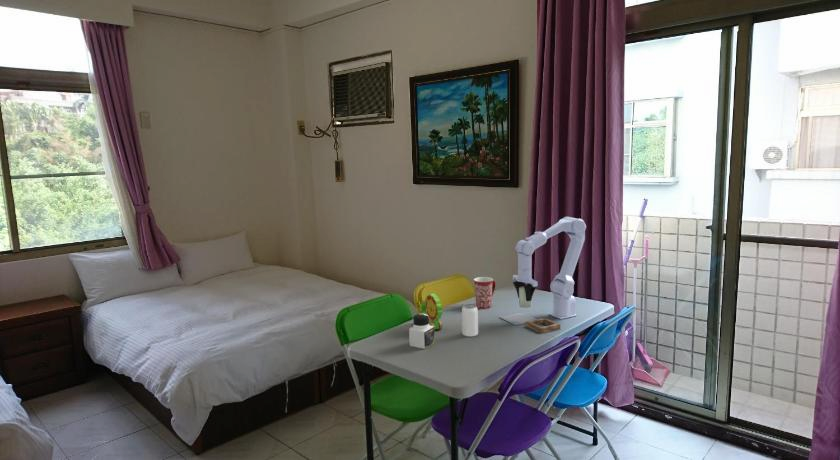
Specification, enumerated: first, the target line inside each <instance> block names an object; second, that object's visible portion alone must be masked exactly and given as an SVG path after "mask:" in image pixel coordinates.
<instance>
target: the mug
mask: <svg viewBox="0 0 840 460" xmlns="http://www.w3.org/2000/svg"><path fill="white" fill-rule="evenodd" d="M473 283H474V293H475V295H474V296H475V305H476V306H477V309H482V310H484V309H485V310H486V309H490V308H492V306H493V305H492V301H493V295H494V294H495V289H496V282H495V280H494V279H493V277H489V276H480V277H475V278H473Z"/></svg>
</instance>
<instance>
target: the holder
mask: <svg viewBox="0 0 840 460" xmlns="http://www.w3.org/2000/svg"><path fill="white" fill-rule="evenodd" d="M540 325H545V326H540ZM525 327H526V328H529V329H531V330H532V331H535V332H537V333H539V334H545V333H549V332H553V331H554V332H555V331H558V330H561V324H560V323H558V322H555V321H553V320H551V319H549V318H546V317H542V318H538V319H537V318H536V320H532V321H527V322H526V323H525Z"/></svg>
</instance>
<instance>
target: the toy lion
mask: <svg viewBox="0 0 840 460" xmlns="http://www.w3.org/2000/svg"><path fill="white" fill-rule="evenodd" d="M420 314H426V315H428V316H429V325H430V326H434V331H436V330H439V331H440V330H442V329H443V327H444V326H443V322H442V320H440V319H441V317H442V315H443V306H442V303H441V299H439V297H438V295H437V294H436V293H429V294H427V295H426V298H425V299H424V300H423V301H422V302H421V304H420Z"/></svg>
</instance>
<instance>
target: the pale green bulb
mask: <svg viewBox="0 0 840 460" xmlns="http://www.w3.org/2000/svg"><path fill="white" fill-rule="evenodd" d="M518 306H519V308H523V309H526V308H531V306H532V300H531V301H526V292H525V289H524V287H519V298H518Z"/></svg>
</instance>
